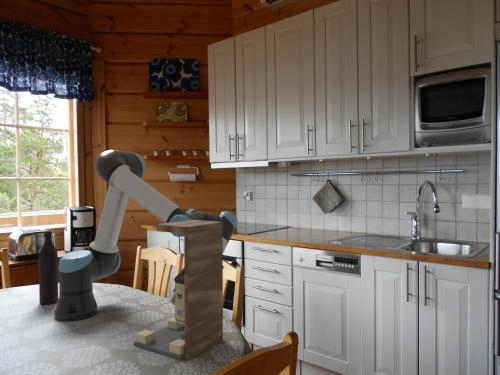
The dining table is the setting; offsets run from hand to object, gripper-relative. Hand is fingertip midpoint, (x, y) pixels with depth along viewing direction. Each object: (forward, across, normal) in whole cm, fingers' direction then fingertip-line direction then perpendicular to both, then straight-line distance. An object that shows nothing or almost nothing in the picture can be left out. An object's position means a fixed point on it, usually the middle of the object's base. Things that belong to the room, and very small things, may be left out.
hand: (184, 305), depth 128 cm
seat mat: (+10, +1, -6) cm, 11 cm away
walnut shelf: (+10, -5, -6) cm, 12 cm away
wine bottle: (+8, +74, -8) cm, 74 cm away
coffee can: (+2, 0, -6) cm, 6 cm away
